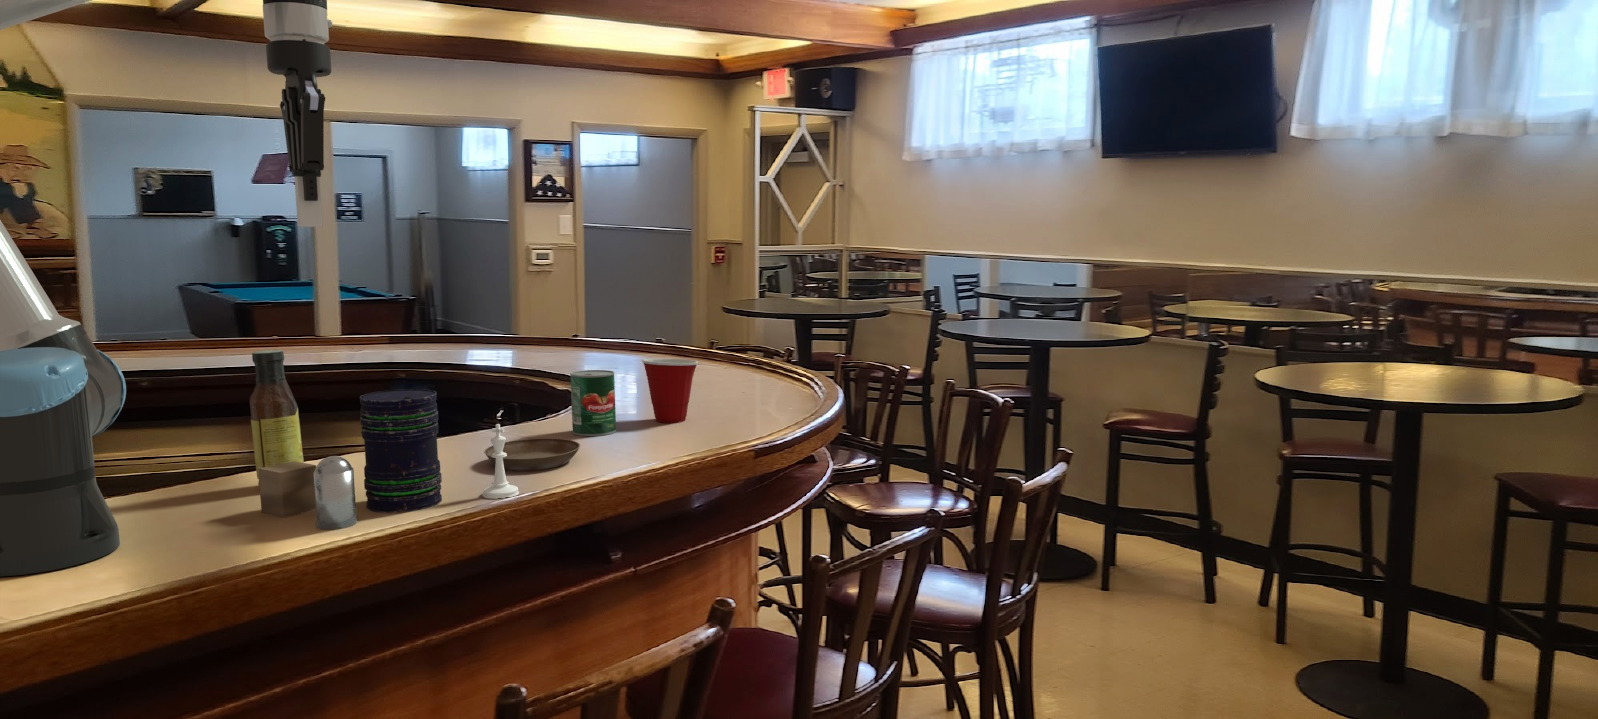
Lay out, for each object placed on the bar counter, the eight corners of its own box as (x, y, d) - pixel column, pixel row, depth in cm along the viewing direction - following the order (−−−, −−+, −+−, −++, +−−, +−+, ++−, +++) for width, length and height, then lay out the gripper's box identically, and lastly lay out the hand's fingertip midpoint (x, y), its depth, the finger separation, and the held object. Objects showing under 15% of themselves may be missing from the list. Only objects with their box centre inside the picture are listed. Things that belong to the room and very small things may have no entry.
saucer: (508, 479, 156) (507, 461, 155) (470, 462, 167) (469, 446, 167) (597, 465, 165) (596, 448, 165) (555, 450, 176) (554, 434, 176)
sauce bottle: (314, 482, 154) (305, 348, 151) (283, 493, 148) (273, 354, 145) (278, 480, 155) (268, 347, 153) (245, 490, 149) (235, 352, 147)
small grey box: (283, 518, 135) (280, 472, 134) (261, 512, 138) (258, 468, 137) (319, 509, 139) (316, 465, 139) (296, 504, 142) (293, 461, 141)
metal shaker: (322, 531, 129) (317, 462, 127) (312, 523, 132) (308, 455, 131) (361, 525, 131) (357, 456, 130) (350, 517, 135) (346, 450, 134)
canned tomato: (590, 426, 195) (588, 368, 194) (625, 430, 192) (623, 371, 190) (563, 434, 188) (561, 374, 187) (598, 438, 185) (596, 376, 183)
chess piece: (508, 499, 143) (505, 428, 142) (475, 498, 144) (472, 427, 143) (525, 490, 148) (522, 421, 147) (493, 489, 149) (490, 420, 148)
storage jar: (353, 503, 142) (346, 395, 140) (423, 490, 149) (417, 386, 147) (384, 517, 135) (377, 403, 133) (455, 502, 142) (450, 394, 140)
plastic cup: (711, 419, 202) (710, 358, 200) (669, 427, 194) (668, 363, 192) (673, 413, 209) (672, 353, 207) (631, 420, 201) (629, 359, 199)
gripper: (342, 38, 132) (354, 226, 135) (316, 52, 142) (327, 226, 145) (277, 32, 127) (291, 226, 130) (255, 46, 137) (268, 227, 140)
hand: (310, 226), depth 138 cm, fingers closed
